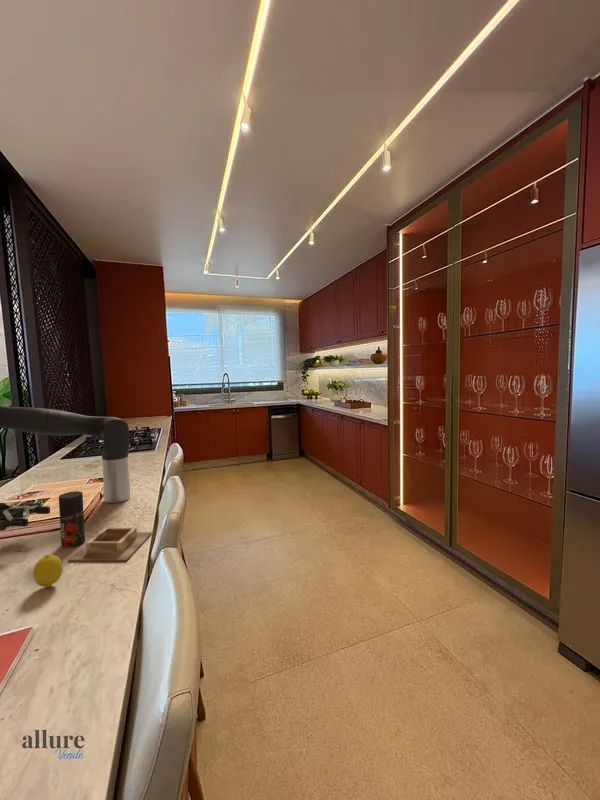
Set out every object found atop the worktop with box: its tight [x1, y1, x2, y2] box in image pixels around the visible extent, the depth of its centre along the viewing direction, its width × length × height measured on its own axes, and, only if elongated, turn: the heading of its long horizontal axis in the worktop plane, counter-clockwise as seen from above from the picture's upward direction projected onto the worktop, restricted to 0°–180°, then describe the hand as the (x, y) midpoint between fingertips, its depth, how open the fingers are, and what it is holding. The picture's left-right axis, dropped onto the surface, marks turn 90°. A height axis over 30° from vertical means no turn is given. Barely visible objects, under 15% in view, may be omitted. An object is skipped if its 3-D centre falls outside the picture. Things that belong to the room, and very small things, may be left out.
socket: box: [67, 527, 153, 563], centre depth 102 cm, size 16×16×4 cm
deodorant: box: [58, 490, 86, 549], centre depth 103 cm, size 6×6×15 cm
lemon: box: [33, 553, 63, 588], centre depth 82 cm, size 6×6×8 cm
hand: (38, 515), depth 103 cm, fingers open, 8 cm apart
